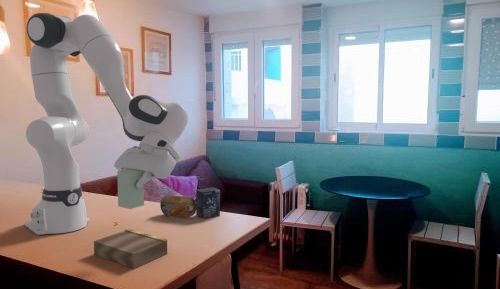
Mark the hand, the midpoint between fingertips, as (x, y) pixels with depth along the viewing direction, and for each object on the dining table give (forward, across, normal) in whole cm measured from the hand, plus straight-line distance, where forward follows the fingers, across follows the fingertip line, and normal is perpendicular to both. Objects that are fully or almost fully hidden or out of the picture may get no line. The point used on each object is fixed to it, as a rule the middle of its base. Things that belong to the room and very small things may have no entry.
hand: (129, 185), depth 104 cm
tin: (-11, -15, +40) cm, 44 cm away
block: (+4, 0, +5) cm, 6 cm away
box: (-16, -6, +44) cm, 47 cm away
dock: (+14, 0, +15) cm, 20 cm away
